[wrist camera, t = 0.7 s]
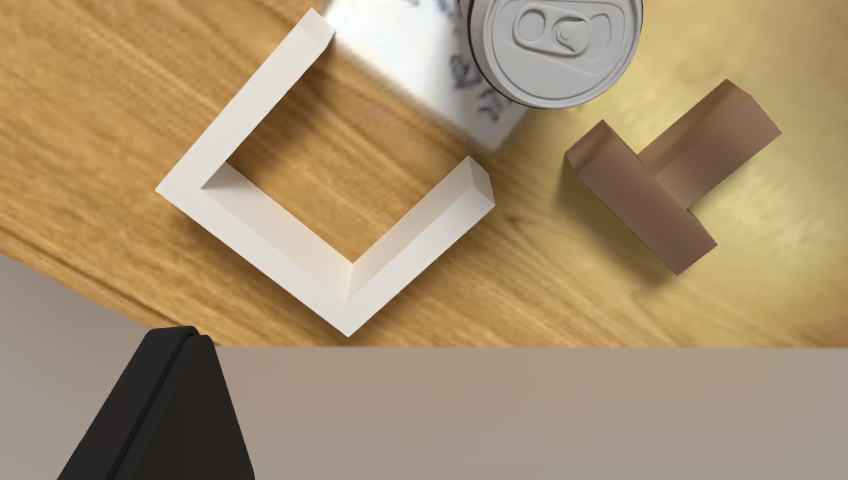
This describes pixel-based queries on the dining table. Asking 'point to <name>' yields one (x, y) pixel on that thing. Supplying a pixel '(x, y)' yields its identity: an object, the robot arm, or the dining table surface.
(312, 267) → the corral
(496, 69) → the beverage can
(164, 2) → the dining table surface
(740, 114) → the walnut T block
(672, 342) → the dining table surface
